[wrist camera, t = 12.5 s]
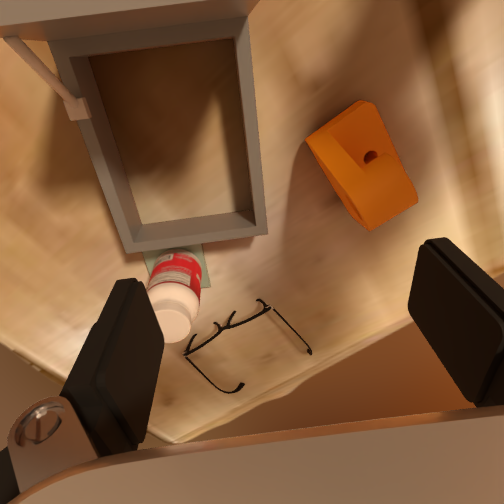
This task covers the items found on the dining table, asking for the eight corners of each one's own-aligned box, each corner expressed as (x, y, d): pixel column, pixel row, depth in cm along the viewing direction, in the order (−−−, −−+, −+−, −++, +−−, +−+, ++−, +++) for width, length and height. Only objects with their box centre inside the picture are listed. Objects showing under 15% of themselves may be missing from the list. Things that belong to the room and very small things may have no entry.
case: (62, 29, 29) (-77, 8, 15) (242, 7, 29) (263, -34, 16) (133, 234, 40) (89, 328, 26) (263, 217, 40) (286, 300, 27)
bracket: (398, 175, 39) (462, 218, 29) (345, 208, 41) (388, 260, 30) (361, 95, 34) (422, 112, 24) (302, 137, 36) (336, 171, 25)
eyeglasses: (268, 286, 47) (272, 304, 43) (317, 346, 54) (324, 366, 51) (179, 337, 50) (176, 357, 47) (236, 387, 58) (238, 408, 54)
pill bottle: (194, 290, 45) (188, 353, 35) (149, 279, 43) (130, 342, 34) (208, 254, 42) (205, 312, 32) (161, 240, 40) (143, 297, 31)
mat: (141, 246, 41) (140, 248, 40) (200, 238, 41) (200, 239, 41) (156, 292, 45) (156, 294, 44) (210, 285, 45) (210, 286, 45)
